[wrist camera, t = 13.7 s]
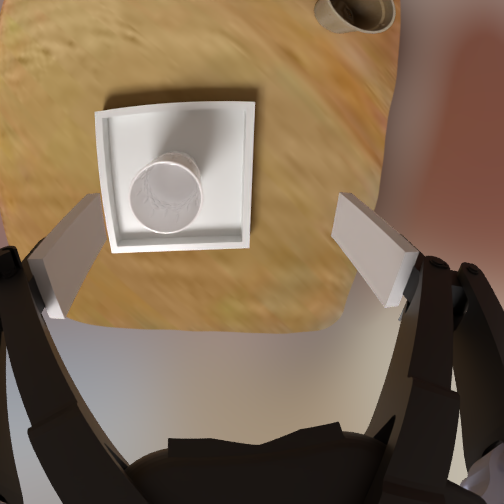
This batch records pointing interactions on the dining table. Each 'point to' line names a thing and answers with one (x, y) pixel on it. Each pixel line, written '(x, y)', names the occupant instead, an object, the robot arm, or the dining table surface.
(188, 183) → the white cup
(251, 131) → the tray
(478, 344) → the robot arm
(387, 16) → the flower pot
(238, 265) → the dining table surface
